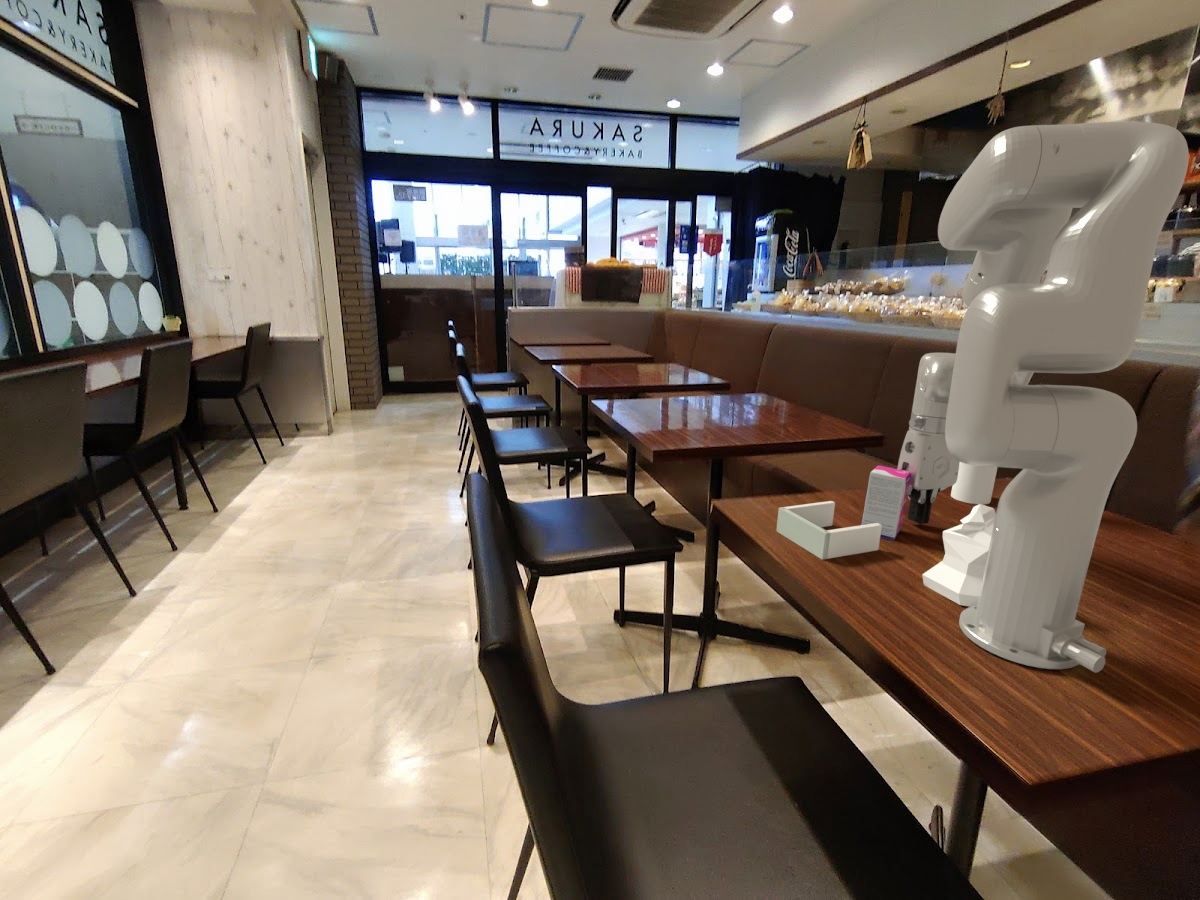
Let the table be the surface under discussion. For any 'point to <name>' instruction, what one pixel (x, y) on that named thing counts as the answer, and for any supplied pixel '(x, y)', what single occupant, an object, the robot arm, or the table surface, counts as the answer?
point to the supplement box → (886, 499)
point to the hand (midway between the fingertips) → (917, 520)
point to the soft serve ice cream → (963, 558)
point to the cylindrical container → (974, 484)
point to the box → (825, 531)
